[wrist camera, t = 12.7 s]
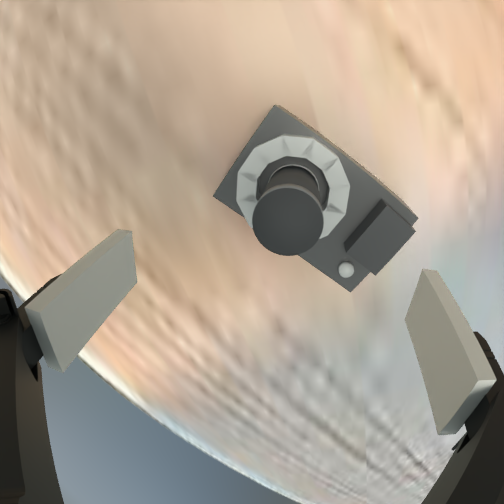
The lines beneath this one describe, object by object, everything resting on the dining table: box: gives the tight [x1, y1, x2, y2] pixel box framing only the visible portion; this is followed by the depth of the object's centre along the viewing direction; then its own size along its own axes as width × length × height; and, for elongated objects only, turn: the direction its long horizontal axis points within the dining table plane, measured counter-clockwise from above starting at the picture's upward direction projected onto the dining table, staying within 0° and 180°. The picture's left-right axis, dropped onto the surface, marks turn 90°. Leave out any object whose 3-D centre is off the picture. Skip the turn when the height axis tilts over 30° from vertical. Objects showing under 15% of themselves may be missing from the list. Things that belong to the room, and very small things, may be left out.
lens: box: [252, 164, 324, 256], centre depth 26 cm, size 5×5×10 cm
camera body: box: [213, 105, 418, 292], centre depth 33 cm, size 18×11×8 cm, turn 57°
